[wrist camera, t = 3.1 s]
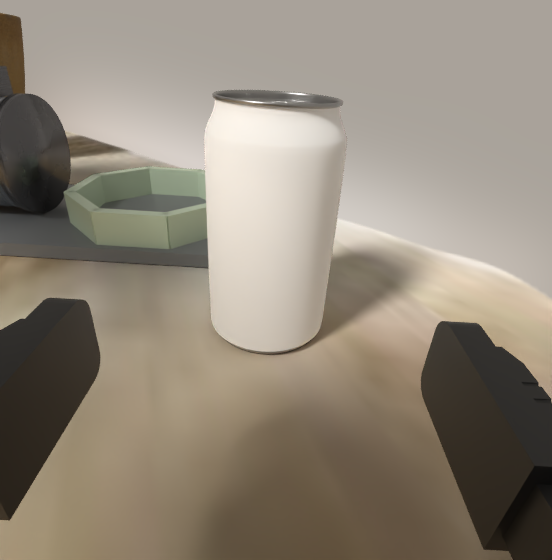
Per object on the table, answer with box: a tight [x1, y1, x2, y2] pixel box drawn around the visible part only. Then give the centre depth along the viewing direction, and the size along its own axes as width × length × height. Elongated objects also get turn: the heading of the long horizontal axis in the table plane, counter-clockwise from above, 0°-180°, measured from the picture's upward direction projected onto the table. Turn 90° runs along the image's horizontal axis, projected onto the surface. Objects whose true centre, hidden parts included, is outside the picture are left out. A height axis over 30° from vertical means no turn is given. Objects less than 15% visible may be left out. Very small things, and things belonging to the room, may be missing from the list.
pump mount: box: [0, 166, 209, 268], centre depth 33 cm, size 24×14×4 cm, turn 88°
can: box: [204, 90, 347, 354], centre depth 20 cm, size 6×6×12 cm
